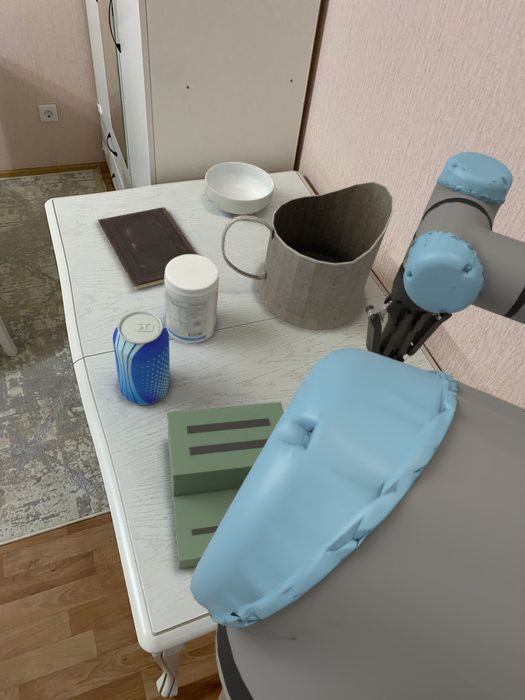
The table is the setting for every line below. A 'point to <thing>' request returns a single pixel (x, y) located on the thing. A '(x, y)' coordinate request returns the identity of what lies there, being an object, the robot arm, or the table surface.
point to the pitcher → (321, 254)
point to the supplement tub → (191, 297)
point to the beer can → (142, 357)
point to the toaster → (212, 467)
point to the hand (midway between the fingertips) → (375, 379)
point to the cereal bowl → (239, 187)
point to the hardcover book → (145, 244)
